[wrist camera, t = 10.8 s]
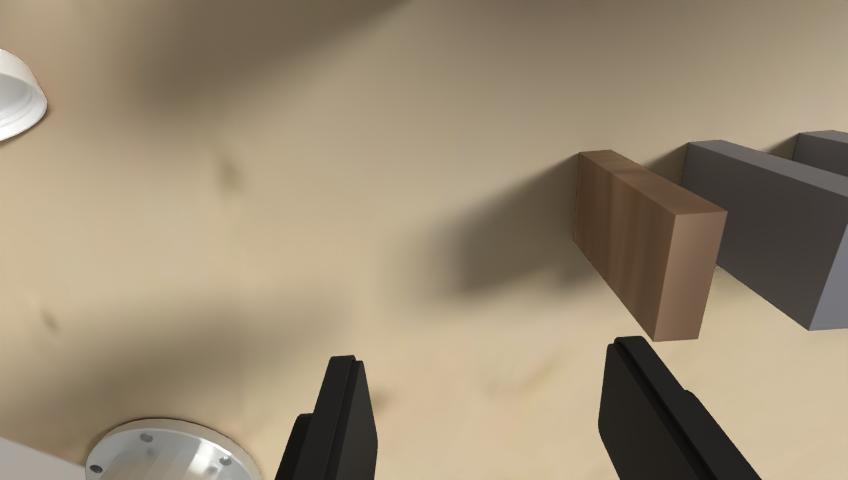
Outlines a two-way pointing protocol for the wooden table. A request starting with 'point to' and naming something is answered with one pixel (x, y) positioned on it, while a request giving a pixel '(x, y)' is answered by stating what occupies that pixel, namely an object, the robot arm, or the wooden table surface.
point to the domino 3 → (823, 151)
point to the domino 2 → (778, 228)
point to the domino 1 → (648, 242)
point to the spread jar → (18, 96)
